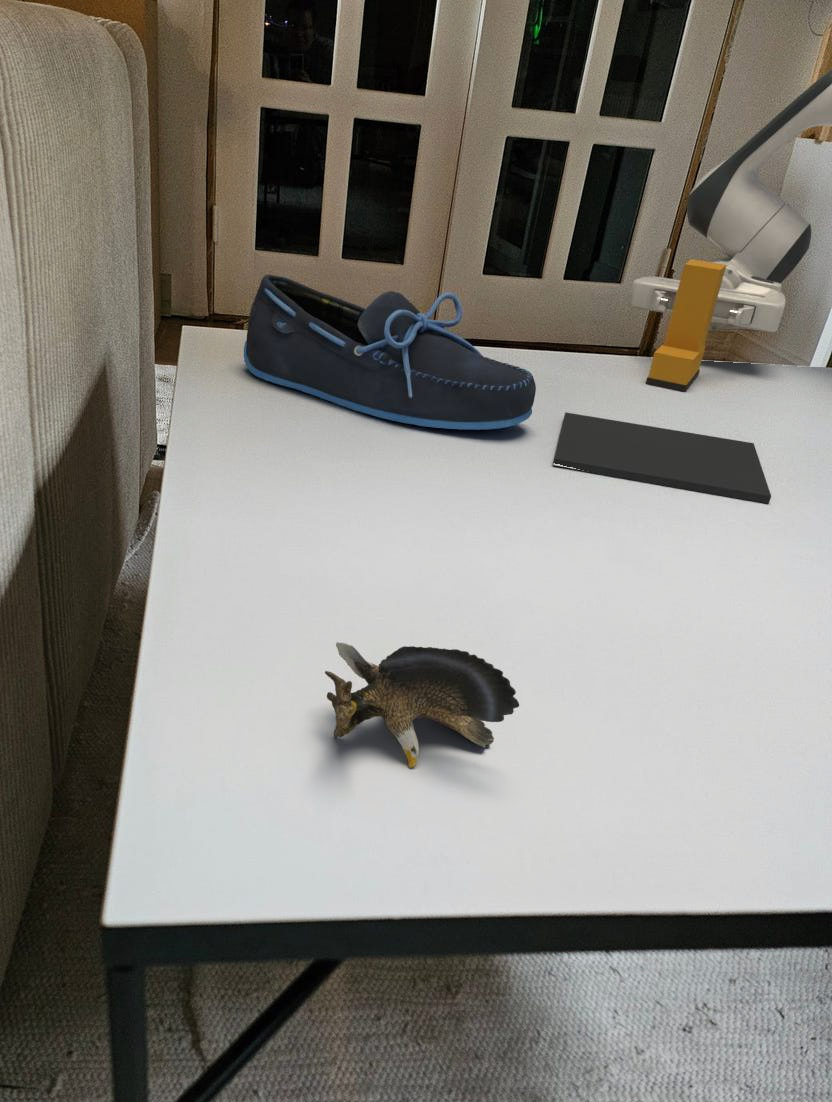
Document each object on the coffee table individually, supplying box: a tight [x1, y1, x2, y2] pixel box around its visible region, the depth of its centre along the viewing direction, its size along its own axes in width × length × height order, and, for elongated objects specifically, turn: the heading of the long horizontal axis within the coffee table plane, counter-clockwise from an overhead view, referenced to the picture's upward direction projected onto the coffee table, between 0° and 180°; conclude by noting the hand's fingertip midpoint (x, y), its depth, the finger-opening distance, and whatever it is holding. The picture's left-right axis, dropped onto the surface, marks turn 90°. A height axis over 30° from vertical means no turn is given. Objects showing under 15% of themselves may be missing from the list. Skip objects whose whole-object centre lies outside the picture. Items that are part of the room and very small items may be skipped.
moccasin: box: [243, 274, 537, 431], centre depth 100 cm, size 14×34×12 cm, turn 65°
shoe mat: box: [552, 411, 772, 505], centre depth 95 cm, size 20×16×1 cm
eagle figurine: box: [324, 642, 520, 768], centre depth 49 cm, size 8×7×9 cm
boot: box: [645, 258, 726, 393], centre depth 119 cm, size 10×5×14 cm, turn 153°
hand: (696, 311), depth 123 cm, fingers open, 8 cm apart
